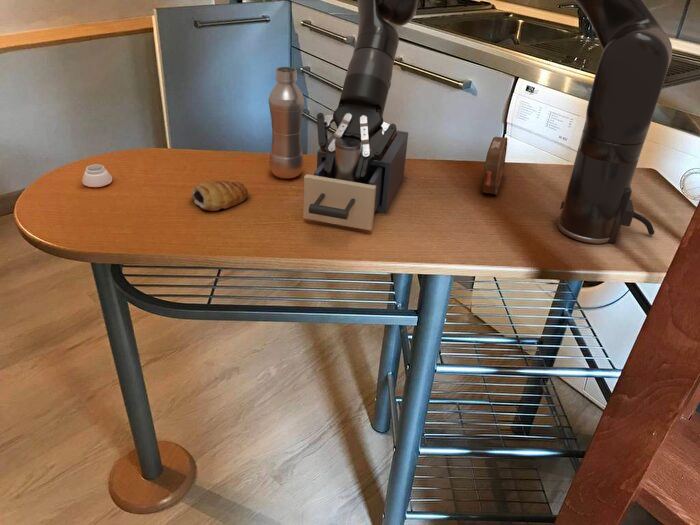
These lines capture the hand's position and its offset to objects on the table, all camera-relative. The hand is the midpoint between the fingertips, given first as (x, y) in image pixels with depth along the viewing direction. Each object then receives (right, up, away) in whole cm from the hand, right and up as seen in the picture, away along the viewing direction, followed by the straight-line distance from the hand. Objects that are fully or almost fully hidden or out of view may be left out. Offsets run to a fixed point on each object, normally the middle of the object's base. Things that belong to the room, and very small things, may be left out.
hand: (343, 178), depth 100 cm
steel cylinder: (0, -2, +4) cm, 4 cm away
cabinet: (+3, 0, +15) cm, 16 cm away
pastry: (-22, -3, +8) cm, 23 cm away
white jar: (-44, +1, +12) cm, 46 cm away
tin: (+28, +1, +20) cm, 35 cm away
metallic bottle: (-11, +3, +19) cm, 22 cm away
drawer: (0, -5, +5) cm, 7 cm away
